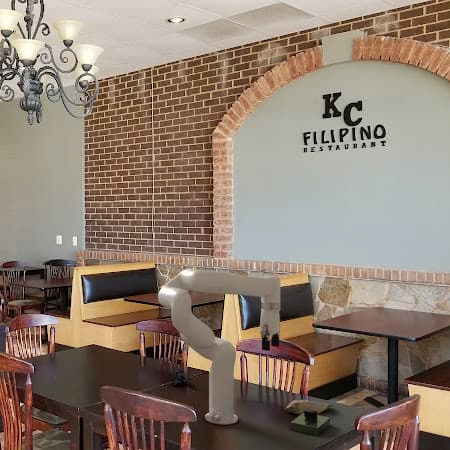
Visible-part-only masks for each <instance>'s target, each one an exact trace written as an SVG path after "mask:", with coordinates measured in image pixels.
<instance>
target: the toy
mask: <svg viewBox="0 0 450 450" xmlns="http://www.w3.org/2000/svg"><path fill="white" fill-rule="evenodd" d="M173 377H174V378H176V379H177V380H172V384H173V385H175V386H176V387H181V386H183V385H185V384H186V385H191V383H192V382H191V380H192V378H191V377H190V376H187V375H186V374H184V370H183V369H181V368H178V370H174V371H173Z"/></svg>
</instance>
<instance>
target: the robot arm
mask: <svg viewBox="0 0 450 450" xmlns="http://www.w3.org/2000/svg"><path fill="white" fill-rule="evenodd" d="M189 291H193V292H198V293H209V294H210V293H211V294H221V295H222V294H223V295H233V296H247V297H259V298H260V310H261V313H260V318H259V319H260V320H259V321H260V322H259V334H260V338H261V339H260V340H261V350H262V351H266V352H270V351H271V347H277V348H279V347H280V336H281V335H280V333H281V332H280V331H281V316H280V311H281V278H280V276H277V275H264V276H260V275H259V276H256V275H242V274H237V273H233V272H228V271H215V270H207V269H198V268H197V269H196V268H191V267H189V268H185V269H183V270H182V271H180V272H179V273H178V274H176V275H175V276H174V277H172V279H170V280H169V281H168V282H167V283H166V284H165V285H163V286H162V287H161V288H160V289H159V292H158V294H157V299H158V302H159V304H160V305H161V306H162V307H164V308H167V309H170V310H171V311H170V313H171V314H170V315H171V323H172V325H173V327H174V328H175V329H176V330H177V332H179V335H180V338H181V340H182V342H183V343H184V344H185V345H187V346H188V348H191V349H192V350H193V351H194V352H195V353H197V354H198V355H199V356H201V357H203V358H204V359H206V360H209V361H211V365H210V368H209V371H208V372H209V373H208V412H207V413H206V414H205V416H204V418H205V421H207V422H208V423H211V424H216V425H234V424H236V423H237V422H238V421H239V417H238V415H236V414H235V382H234V381H235V363H236V359H237V350H236V348H235V346H234V344H233V343H232V342H231V341H228V340H227V339H224V338H221V337H218V336H215V333H214V331H213V329H212V328H210V327H209V326H208V325H206V324H205V323H204V322H203V321H202V320H201V319H199V318H198V317H197V316H195V315H194V314H193V311H192V297H191V295H190V293H189ZM270 339H271V340H270Z"/></svg>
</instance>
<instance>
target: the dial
mask: <svg viewBox="0 0 450 450" xmlns="http://www.w3.org/2000/svg"><path fill="white" fill-rule="evenodd" d="M317 415H318V413H317V410H316V409H312V408H306V409H304V420H306V421H310V422H315V421H317Z"/></svg>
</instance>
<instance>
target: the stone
mask: <svg viewBox="0 0 450 450" xmlns="http://www.w3.org/2000/svg"><path fill="white" fill-rule="evenodd" d="M331 407H335V405H334V404H331V403H327V402H321V401H312V400H308V399H294V400H292V401H291V402H290V403H288V404H287V406H286V407H285V408H284V411H286V412H289V413H292V414H296V415H298V416H300V415H301V414H303V413H304V409H306V408H312V409H316V410H317V415H319V414H321V413H323V412H325V411H328V410H330V408H331Z"/></svg>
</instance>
